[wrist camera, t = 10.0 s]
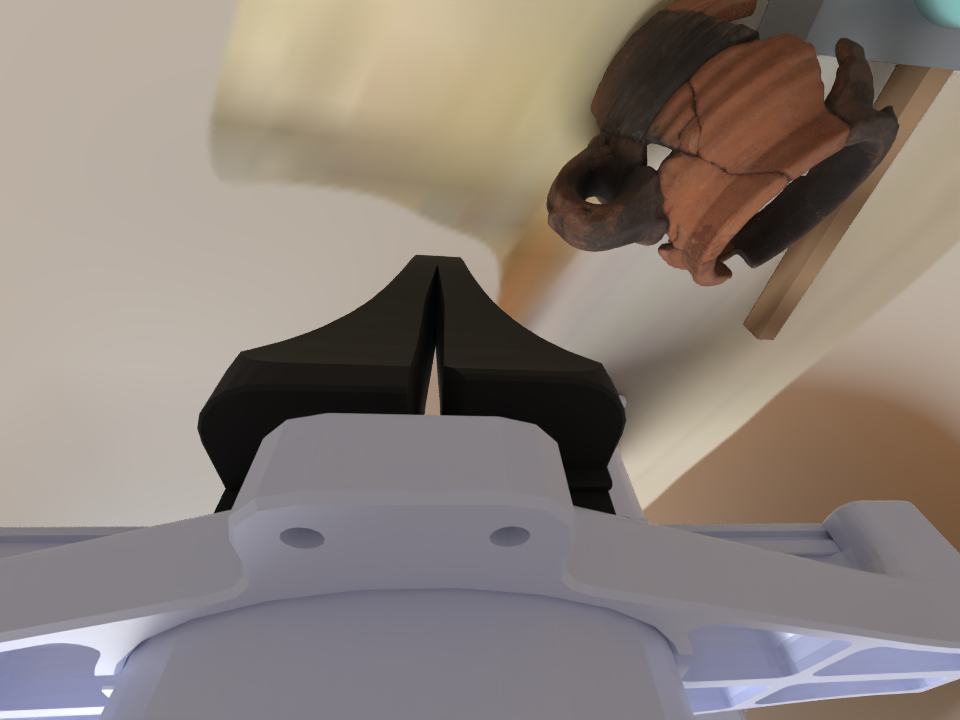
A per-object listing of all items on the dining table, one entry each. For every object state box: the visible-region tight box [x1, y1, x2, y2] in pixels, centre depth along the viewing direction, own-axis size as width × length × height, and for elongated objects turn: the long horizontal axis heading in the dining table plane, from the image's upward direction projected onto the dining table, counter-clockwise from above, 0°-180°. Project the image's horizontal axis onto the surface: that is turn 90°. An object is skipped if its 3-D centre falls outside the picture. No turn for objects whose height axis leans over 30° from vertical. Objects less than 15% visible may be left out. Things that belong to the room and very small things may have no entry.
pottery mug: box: [547, 0, 899, 286], centre depth 17 cm, size 12×10×8 cm
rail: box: [744, 64, 954, 340], centre depth 20 cm, size 14×1×2 cm, turn 175°
